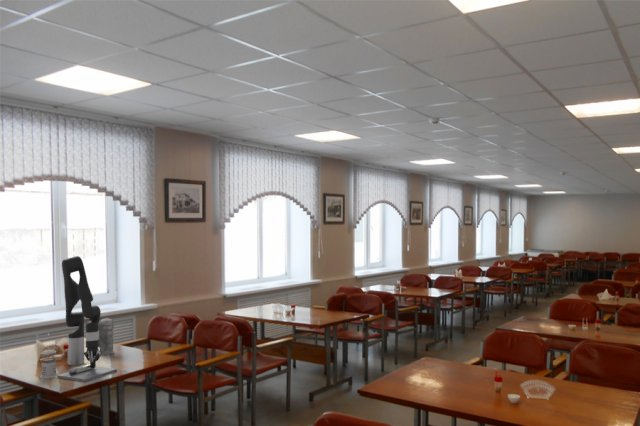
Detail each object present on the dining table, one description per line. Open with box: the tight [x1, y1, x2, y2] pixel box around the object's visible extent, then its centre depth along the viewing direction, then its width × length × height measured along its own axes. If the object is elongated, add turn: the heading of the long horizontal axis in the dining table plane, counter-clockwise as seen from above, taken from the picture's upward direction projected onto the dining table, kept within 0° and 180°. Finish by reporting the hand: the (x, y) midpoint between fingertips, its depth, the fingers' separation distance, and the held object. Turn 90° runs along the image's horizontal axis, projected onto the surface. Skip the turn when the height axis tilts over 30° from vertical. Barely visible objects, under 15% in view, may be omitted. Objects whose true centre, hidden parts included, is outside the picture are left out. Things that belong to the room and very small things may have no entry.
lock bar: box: [68, 364, 96, 374], centre depth 301 cm, size 16×4×2 cm, turn 150°
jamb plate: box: [56, 361, 118, 383], centre depth 300 cm, size 23×23×4 cm
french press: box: [39, 332, 59, 379], centre depth 301 cm, size 10×12×25 cm
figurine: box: [98, 317, 115, 356], centre depth 353 cm, size 10×14×25 cm
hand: (93, 368), depth 304 cm, fingers closed
